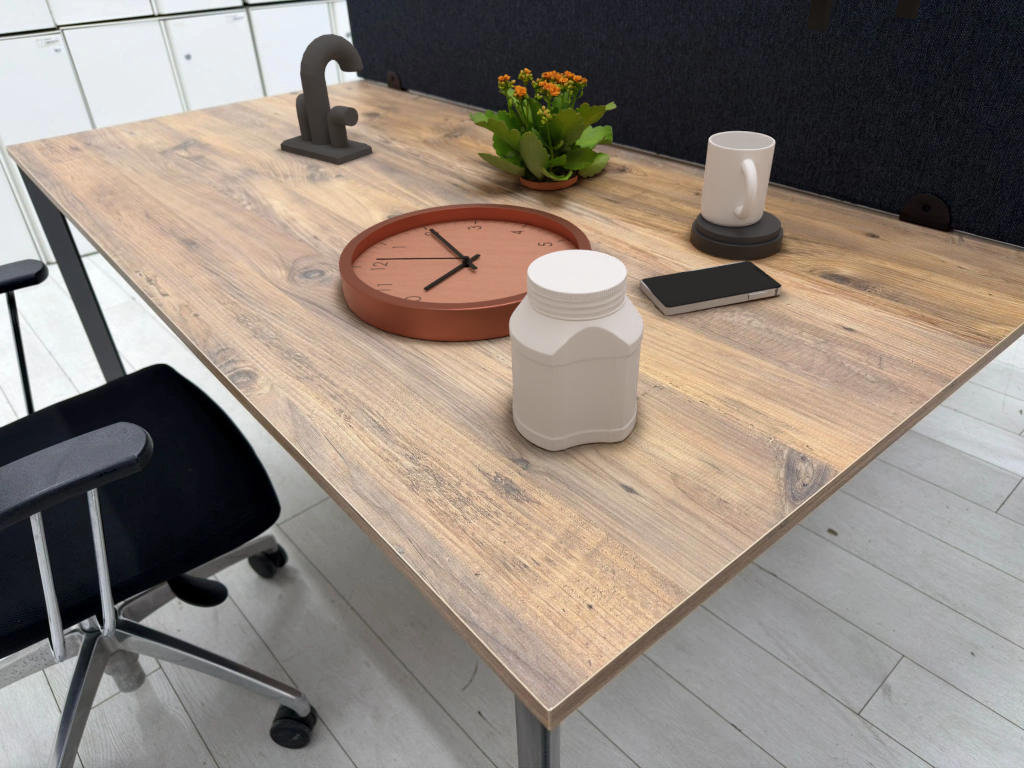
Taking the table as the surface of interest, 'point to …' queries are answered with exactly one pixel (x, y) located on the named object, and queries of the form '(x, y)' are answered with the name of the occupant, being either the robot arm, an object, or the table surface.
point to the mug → (736, 178)
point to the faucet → (325, 105)
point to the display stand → (738, 238)
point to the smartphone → (709, 287)
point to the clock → (450, 268)
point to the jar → (575, 351)
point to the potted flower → (546, 132)
